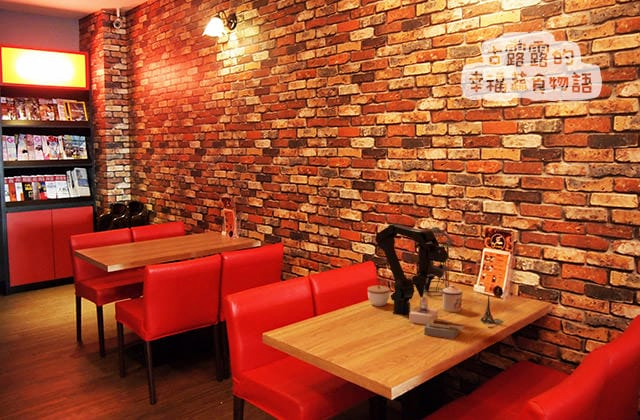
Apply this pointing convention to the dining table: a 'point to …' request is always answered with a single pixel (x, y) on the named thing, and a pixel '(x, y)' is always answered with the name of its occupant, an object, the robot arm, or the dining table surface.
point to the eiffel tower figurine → (490, 317)
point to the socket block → (441, 331)
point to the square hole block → (421, 315)
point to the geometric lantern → (440, 263)
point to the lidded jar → (378, 295)
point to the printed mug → (452, 299)
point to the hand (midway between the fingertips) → (424, 294)
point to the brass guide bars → (434, 320)
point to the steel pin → (424, 304)
